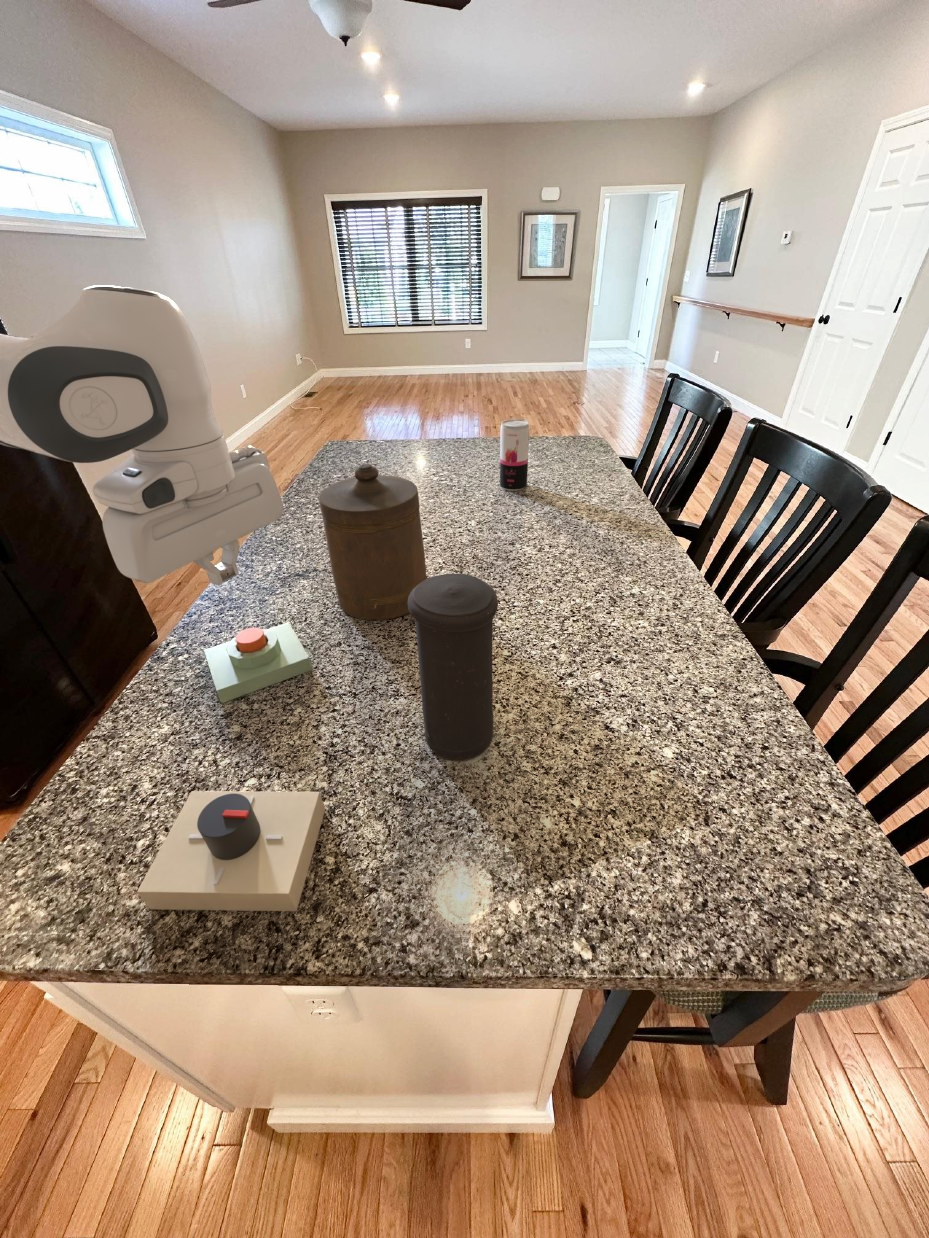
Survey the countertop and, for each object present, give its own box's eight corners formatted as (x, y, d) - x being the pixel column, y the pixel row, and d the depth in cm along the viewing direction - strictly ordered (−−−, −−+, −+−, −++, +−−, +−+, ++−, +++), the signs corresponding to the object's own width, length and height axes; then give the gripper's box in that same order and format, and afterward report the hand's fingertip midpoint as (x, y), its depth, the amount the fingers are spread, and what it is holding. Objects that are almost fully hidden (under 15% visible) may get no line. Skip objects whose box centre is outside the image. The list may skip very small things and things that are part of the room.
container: (478, 698, 65) (476, 559, 54) (509, 750, 58) (513, 602, 47) (413, 718, 63) (396, 576, 51) (436, 773, 56) (422, 624, 44)
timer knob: (200, 859, 45) (185, 834, 43) (223, 814, 49) (210, 790, 47) (248, 861, 45) (236, 836, 43) (267, 816, 49) (257, 791, 46)
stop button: (242, 657, 68) (238, 646, 67) (236, 643, 70) (232, 632, 69) (269, 647, 69) (266, 637, 68) (263, 634, 72) (259, 624, 71)
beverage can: (513, 493, 121) (515, 428, 113) (494, 486, 125) (494, 423, 117) (532, 486, 125) (535, 422, 116) (512, 479, 129) (514, 417, 120)
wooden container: (393, 565, 94) (378, 444, 82) (445, 595, 85) (438, 465, 73) (321, 595, 86) (292, 467, 74) (371, 633, 77) (347, 493, 65)
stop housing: (221, 703, 66) (211, 680, 63) (208, 661, 73) (199, 639, 70) (312, 669, 71) (306, 647, 68) (292, 633, 78) (286, 612, 75)
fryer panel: (150, 909, 45) (135, 890, 43) (201, 809, 53) (190, 789, 51) (296, 911, 44) (288, 892, 42) (325, 809, 52) (319, 790, 51)
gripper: (243, 438, 63) (270, 540, 71) (74, 493, 49) (131, 614, 57) (280, 444, 61) (304, 549, 69) (114, 504, 46) (168, 629, 54)
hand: (225, 579), depth 62 cm, fingers closed
